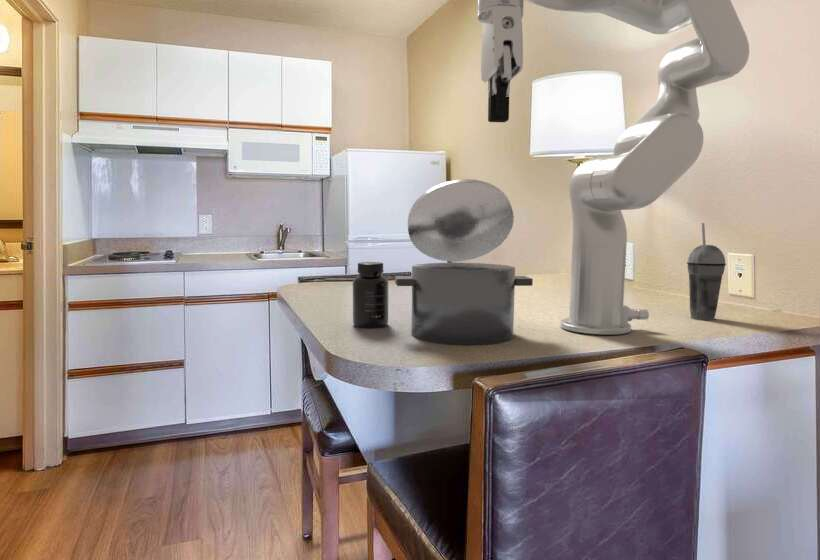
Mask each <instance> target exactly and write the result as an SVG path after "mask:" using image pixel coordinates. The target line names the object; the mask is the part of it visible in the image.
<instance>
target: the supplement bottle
mask: <svg viewBox="0 0 820 560" xmlns="http://www.w3.org/2000/svg"><path fill="white" fill-rule="evenodd" d="M384 271H385V270H384V263H383V262H382V261H381V262H380V261H379V262H378V261H361V262H358V263H357V273H358V275H357V276H356V277H355V278H354V279H353V281H352V324H353V325H354V326H355V327H358V328H362V329H378V328H379V329H380V328H384V327H387V325H388V323H389V280H388V279H387V278H386V277H385V276H383V273H384Z"/></svg>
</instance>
